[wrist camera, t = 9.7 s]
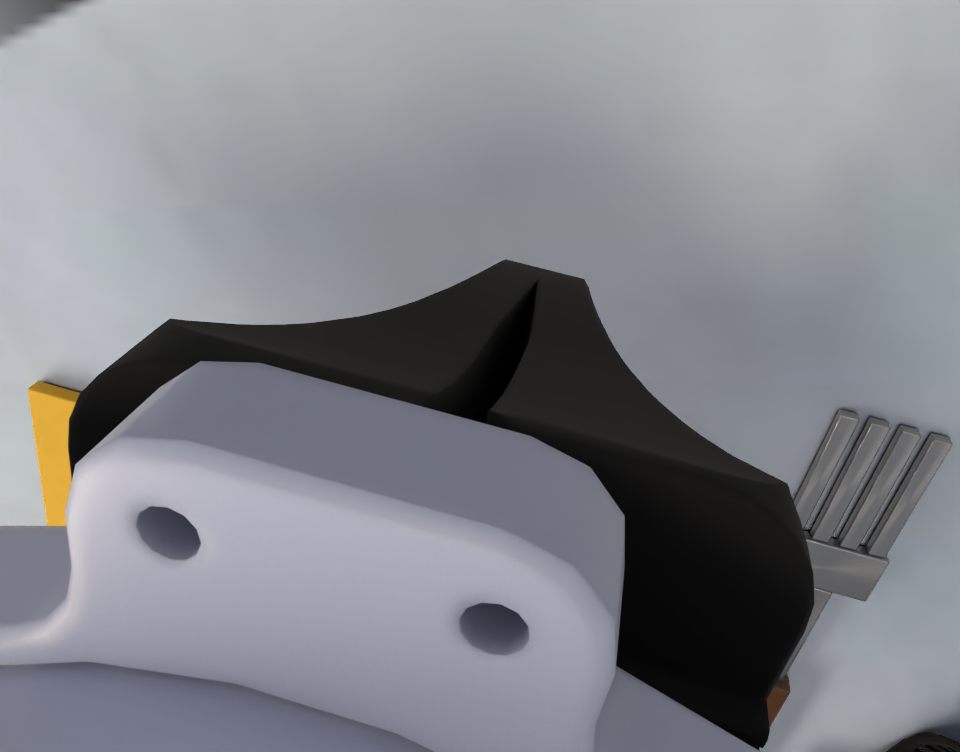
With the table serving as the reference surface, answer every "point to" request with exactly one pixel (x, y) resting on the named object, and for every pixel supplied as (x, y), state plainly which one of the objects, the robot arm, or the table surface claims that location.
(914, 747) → the smartwatch
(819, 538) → the fork
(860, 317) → the table surface
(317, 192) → the table surface
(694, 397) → the table surface
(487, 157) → the table surface
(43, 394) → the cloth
